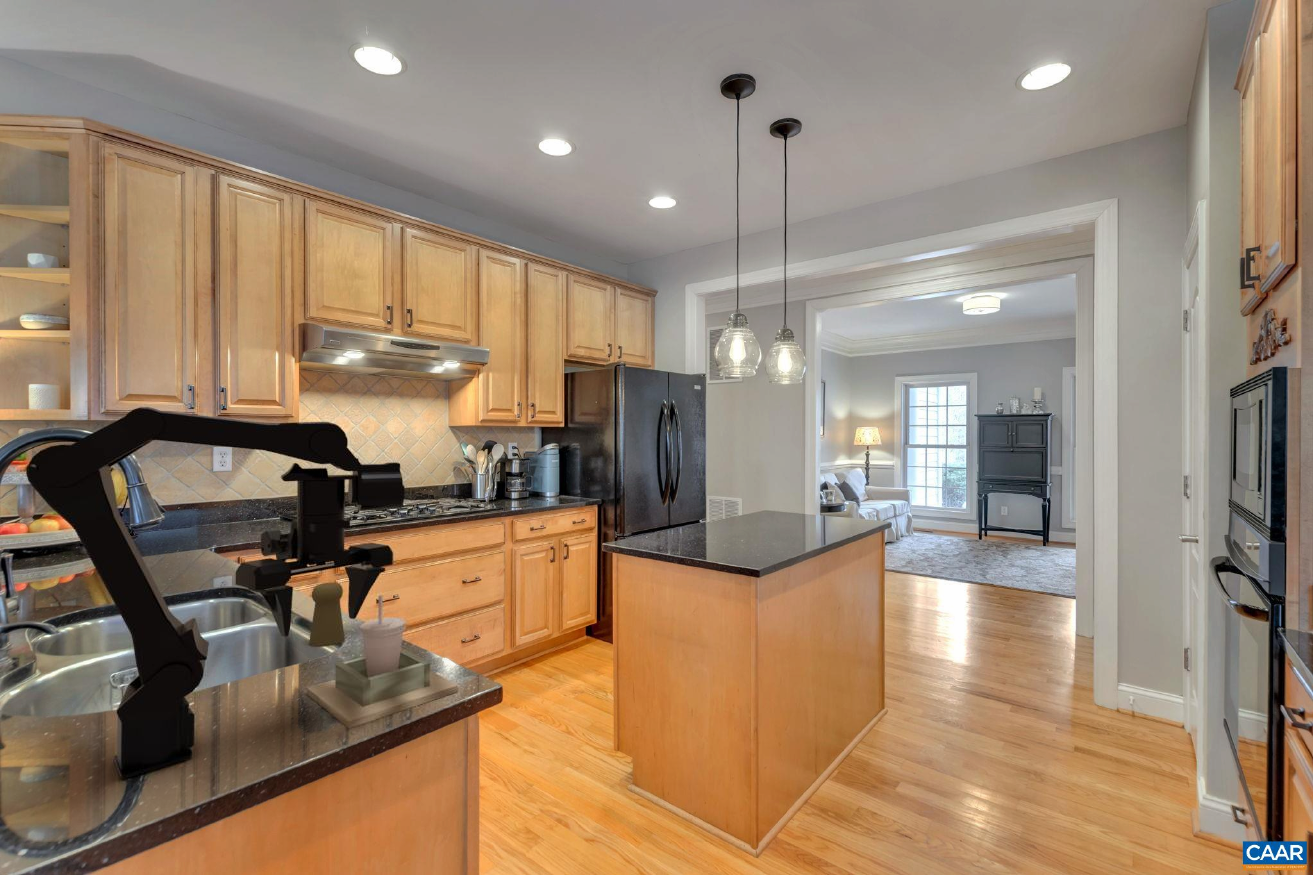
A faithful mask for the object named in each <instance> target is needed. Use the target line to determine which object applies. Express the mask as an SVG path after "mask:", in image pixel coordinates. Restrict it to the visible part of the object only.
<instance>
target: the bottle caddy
mask: <svg viewBox="0 0 1313 875" xmlns="http://www.w3.org/2000/svg"><path fill="white" fill-rule="evenodd" d="M334 678H335V679H332V680H329V681H325V682H321V683H318V684H313V685H310V686H307V687H306V695H307V696H308V697H309V698H311V699H312V700H314V701H315V703H317V704H318V705H319V706H321V707H322V708H323V709H325V710H326V711H327V712H328V713H329V714H331V715H332V716H333V717H334V718H335V719H337V720H338V721H339V722H341V723H342V724H343V725H344V726H346V728H348V729H352V728H355V727H358V726H361V725H363V724H367V723H370V722H372V721H376V720H378V719H382V718H384V717H387V716H390V715H393V714H396V713H399V712H402V711H405V710H408V709H411V708H415V707H416V706H420V705H422V704H426V703H429V702H431V701H434V700H438V699H440V698H443V697H446V696H449V695H453V694H455V693H458V692H459V684H457V683H455V682H453V681H452V680H451V681H450V680H449V679H448V678H445V677H443V676H442V675H440V674H438V673H436V672H434V671H432V670H431V662H429V661H427V660H425V659H424V658H421V657H420V656H418V655H416V654H414V653H412V652H410V651H408V650H406V649H404V648H402V647H401V651H400V658H399V666H398V670H394V671H391V672H387V673H384V674H380V675H377V676H373V677H370V678H368V675H367V667H366V659H365V656H362V657H361V656H360V657H356V658H354V659H349V660H345V661H341V662H339V663H338V662H337V663H335V677H334Z"/></svg>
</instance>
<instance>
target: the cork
mask: <svg viewBox="0 0 1313 875" xmlns="http://www.w3.org/2000/svg"><path fill="white" fill-rule="evenodd" d="M343 593H344V589H343V586H342V584H340V583H337V582H325V583H320V584H317V585H316V586H314V588H313V589H312V592H311V598H312V601H313V602H314V608H313V616H312V621H311V626H310V627H311V628H310V634H309V640H308V645H309V646H311V647H314V648H315V647H317V648H318V647H319V648H320V647H331V646H335V645H339V644H341V643H343V642H344V641H345V639H346V638H345V631H344V623H343V616H342V608H341V601H340V600H341V599H342V597H343Z"/></svg>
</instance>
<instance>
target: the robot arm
mask: <svg viewBox="0 0 1313 875" xmlns="http://www.w3.org/2000/svg"><path fill="white" fill-rule="evenodd" d="M153 441H162V442H163V441H165V442H173V443H182V444H183V443H185V444H195V445H207V446H215V447H223V448H224V447H225V448H237V449H249V450H256V451H266V452H270V453H273V454H277V455H281V456H284V457H290V458H294V459H298V460H302V461H306V462H309V463H313V464H318V465H331V466H332V467H335V468H336V469H339V470H341V471H343V472H352V474H329V473H328V468H326V467H315V468H314V467H312V468H311V467H308V468H303V467H301V466H300V465H299V464H298V463H297V462H294V463H292V465H291V467H289V468H288V470H287V471H285V472H284V473H282V474H281V476H280V479H281V480H282V481H283V482H297V483H296V484H297V486H296V487H297V490H296V491H297V493H296V494H297V495H296V499H297V500H296V502H297V503H296V519H295V520H291V524H290V532H289V533H282V532H281V530H280V529H274V530H268V531H264V532H262V533H261V534H260V551H261V555H262V556H264V557H269V556H275V558H270V557H269V558H263V559H257V560H256V559H255V560H249V561H241V563H240V565H239V566H238V567H237V569H236V571H235V581H234V582H235V585H236V586H238V587H243V588H247V589H248V591H251V592H255V593H258V594H260V595H261V596H262V597H263V599H264V600H265V602H266V604H267V605H268V607H269V610H270V612H271V614H272V616H273V619H274V621H275V624H276V626H277V629H278V630H279V633H280V635H281V636H282V637H285V638H286V637H289V635H290V630H291V626H292V625H291V624H292V611H293V610H292V609H293V594H294V592H293V591H294V587H293V586H290V585H287V583H288V582H289V581H290V580H291V579H292V577H294V576H299V575H304V574H305V575H306V574H310V573H316V572H322V571H326V570H332V569H338V568H344V569H345V570H344V571H345V572H346V576H347V577H348V578H347V579H348V599H347V601H348V602H347V610H348V612H347V613H348V618H349V619H351V620H354V619H356V618H357V616H358V614H359V612H360V610H361V609H362V607H363V604H364V603H365V601H366V598H367V596H368V595H369V593H370V590H371V589H372V587H373V585H374V584H375V582H376V581H377V579H378V578H379V576H380V574H382V573H385V572H386V568H385V567H387V566H388V567H389V566H392V565H393V564H394V552H393V550H392V548H391V546H389V545H388V544H381V543H376V542H375V543H374V542H368V543H361V544H354V545H350V546H349V547H348V548H345V529H348V528H351V520H350V519H345V518H346V517H345V516H346V515H345V514H346V512H345V508H346V506H345V505H346V503H345V499H346V489H345V488H346V481H347V480H348V484H347V486H348V488H347V489H348V490H347V495H348V496H347V497H348V503H349V505H355V504H356V509H357V511H358V512H359V511H361V512H362V511H365V512H366V511H380V510H395V509H396V510H398V509H402V508H403V506H404V501H405V485H404V480H403V475H402V473H401V463H399V462H394V461H393V462H385V463H368V464H367V463H365V464H364V463H361V462H360V460H359V458H357V456H355V455H354V453H353V452H352V451H351V450H350V449H349V447H348V445H349V444H348V437H347V434H346V432H345V431H344V430H343V429H342V427H341V426H339V425H338V424H336V423H333V422H329V421H304V422H302V421H301V422H300V421H299V422H277V423H276V422H275V423H274V422H272V423H270V422H259V421H249V420H244V419H242V420H241V419H234V418H225V417H216V416H210V415H209V416H208V415H207V416H206V415H200V414H190V413H185V412H184V413H183V412H182V413H181V412H174V411H165V410H159V409H157V408H153V407H149V406H145V407H144V406H141V407H137V408H133V409H132V410H130V411H129V412H128V413H126V415H125V416H122V417H121V418H119V419H117V420H116V421H113V422H112V423H110V424H108V425H106V426H104V427H101V428H100V429H98V430H96V431H94V432H92V433H90V434H88V435H87V436H84V437H83V438H80V439H79V440H77V441H75V442H73V443H68V444H67V443H65V444H58V445H51V446H48V447H46V448H44V449H40V451H39V452H37V453H36V454H34V455H33V456H32V457H31V459H30V461H29V462H28V464H27V466H26V470H25V474H26V478H27V481H28V483H29V484H30V486H32V487H33V489H34V490H35V491H36V492H37V493H38V495H39V496H40V497H41V498H42V499H43V500H44V501H45V502H46V504H47V505H48V506H49V507H50V508H51V509H52V510H53V511H54V512H55V513H57V514H58V515H59V516H60V517H61V518H62V519H64V520H65V521H66V522H67V524H69V525H70V526H71V527H72V528H73V529H74V531H75V533H76V535H77V537H78V539H79V540H80V542H81V544H82V546H83V548H84V549H85V551H86V554H87V556H88V557H89V558H90V561H91V563H92V564H93V566H94V569H95V570H96V571H97V574H98V576H99V578H100V579H101V581H102V583H103V585H104V586H105V588H106V590H107V592H108V594H109V596H110V598H111V599H112V600H111V601H113V603H114V605H115V607H116V609H117V611H118V612H119V615H120V616H121V618H122V620H123V622H124V623H125V625H126V627H127V629H128V631H129V634H130V635H131V639H132V645H133V646H132V647H133V652H134V653H133V654H134V659H135V665H136V669H137V672H138V675H137V676H136V677H135V678H134V679H133V680H132V681H130V683H128V685H127V687H126V689H125V691H124V694H123V695H122V698H121V700H120V701H119V705H118V707H117V709H116V715H117V733H116V735H117V736H116V738H117V739H116V740H117V742H116V743H117V745H116V747H117V750H116V755H114V756H113V761H114V762H113V763H114V764H115V766H116V769H117V772H118V774H119V777H120V779H121V780H122V779H128V778H132V777H136V776H139V775H141V774H144V773H148V772H151V771H154V770H157V769H160V768H163V767H167V766H171V765H173V764H177V763H180V762H183V761H187V760H189V759H191V758H193V752H192V749H191V748H193V747H194V746H195V713H194V711H193V710H192V709H191V707H190V702H189V701H188V700H187V699H186V698H185V697H187V696H189V695H190V694H192V693H193V692H194V691H195V689H197V687H198V686H200V684H201V682H202V680H203V677H204V672H205V666H206V660H207V659H208V653H209V652H208V651H209V645H210V644H209V641H207V640H206V639H204V637H203V636H202V635H201V633H200V629H199V626H198V622H197V619H196V618H195V617H193V618H191V619H189V620H188V621H186V622H185V623H182V622H181V620H179V619H178V618H177V617H176V616H175V615H173V613H172V612H171V610H170V609H169V607H168V605H167V603H166V601H165V599H164V597H163V595H162V593H161V591H160V590H159V588H158V586H157V584H156V581H155V580H154V578H153V576H152V574H151V573H150V571H149V569H148V566H147V565H146V563H145V560H144V559H143V557H142V555H141V553H140V552H139V549H138V547H137V545H136V544H135V541H134V540H133V538H132V536H131V534H130V532H129V529H128V528H127V526H126V524H125V522H124V520H123V518H122V516H121V515H120V512H119V508H118V501H117V496H116V488H115V483H114V480H113V476H112V472H111V469H110V468H111V467H112V466H114V465H116V464H119V462H121V461H123V460H124V459H126V458H127V457H129V456H131V455H132V454H134V453H135V452H137V451H139V450H140V449H141V448H143V447H145V446H146V445H148V444H150V443H151V442H153ZM288 560H295V561H288Z"/></svg>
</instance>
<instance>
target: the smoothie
mask: <svg viewBox="0 0 1313 875" xmlns="http://www.w3.org/2000/svg"><path fill="white" fill-rule="evenodd" d="M383 600H384V596H383V595H378V618H375V619H370V620H368V621H365V622H363V623H362V624H360V626H359V628H360V629H359V634H361V636H362V642H363V651H364V657H365V659H366V667H367V675H368V678H370V677H373V676H377V675H380V674H384V673H387V672H391V671H394V670H398V666H399V658H400V651H401V648H402V643H403V642H402V641H403V635H404V631H405V630H406V628H407V626H406V619H402V618H400V617H383V616H384V615H383V611H384V610H383V607H384V606H383V605H384V604H383V603H384V601H383Z"/></svg>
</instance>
